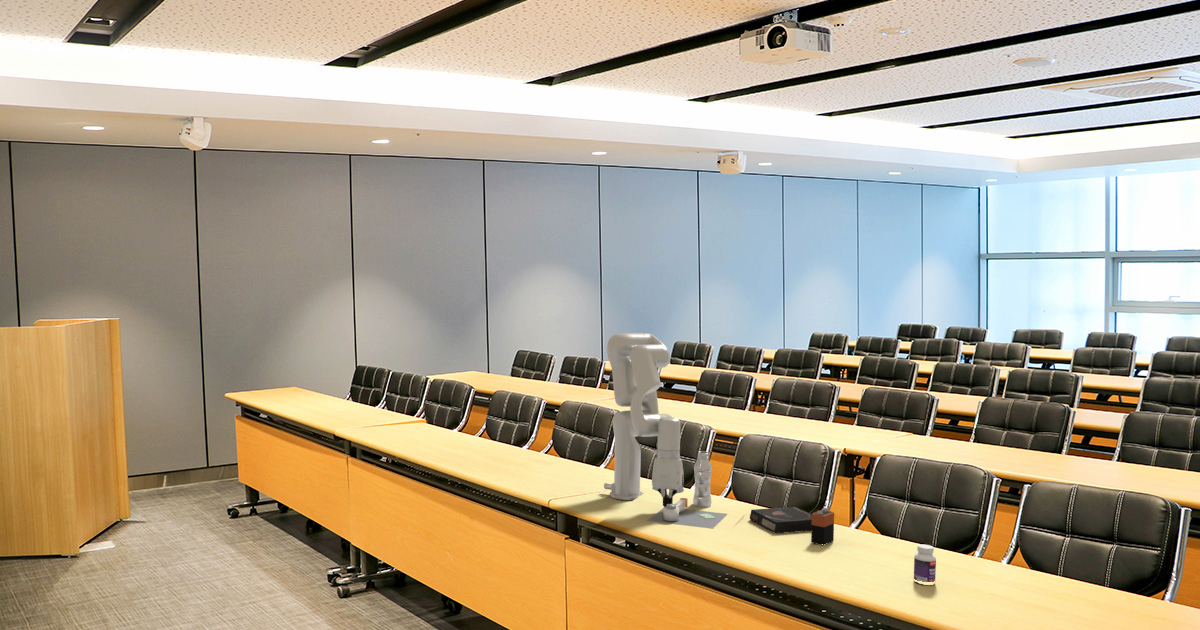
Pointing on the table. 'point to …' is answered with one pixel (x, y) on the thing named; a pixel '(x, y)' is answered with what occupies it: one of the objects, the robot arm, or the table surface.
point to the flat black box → (782, 519)
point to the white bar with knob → (674, 510)
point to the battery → (822, 527)
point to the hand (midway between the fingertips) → (667, 508)
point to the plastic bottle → (702, 480)
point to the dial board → (692, 518)
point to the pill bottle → (925, 564)
